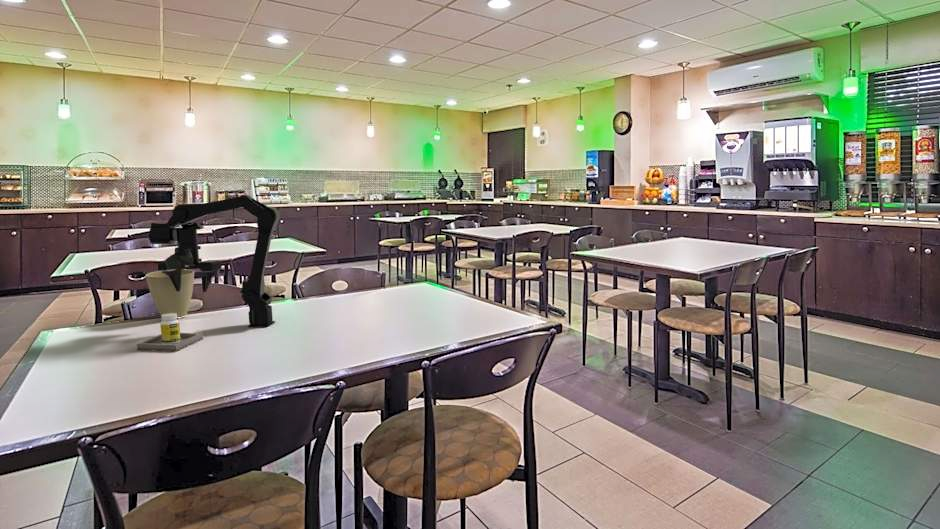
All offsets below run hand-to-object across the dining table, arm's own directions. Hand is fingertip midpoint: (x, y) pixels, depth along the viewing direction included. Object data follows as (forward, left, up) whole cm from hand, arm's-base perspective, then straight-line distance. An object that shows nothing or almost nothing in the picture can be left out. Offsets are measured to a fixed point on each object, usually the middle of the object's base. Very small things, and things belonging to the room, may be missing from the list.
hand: (191, 291), depth 172 cm
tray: (-5, +18, -12) cm, 22 cm away
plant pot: (+16, -12, -12) cm, 23 cm away
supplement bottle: (-5, +18, -12) cm, 22 cm away
